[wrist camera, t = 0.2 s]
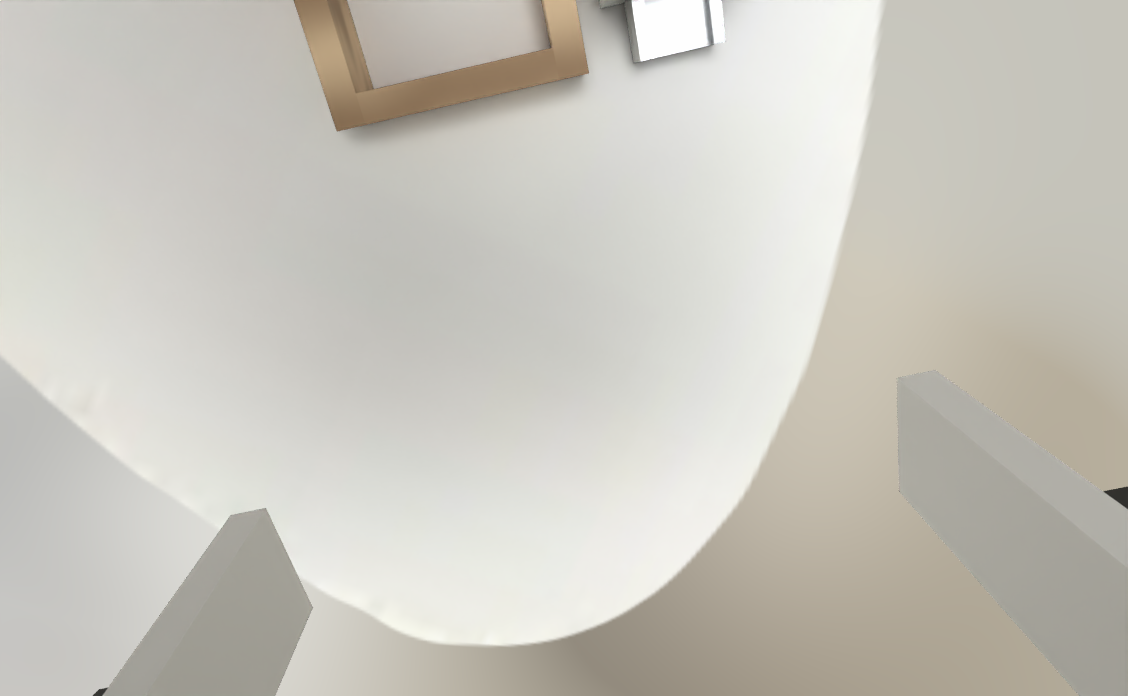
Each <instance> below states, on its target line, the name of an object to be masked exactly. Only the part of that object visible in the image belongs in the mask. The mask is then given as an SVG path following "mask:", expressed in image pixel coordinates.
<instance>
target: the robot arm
mask: <svg viewBox="0 0 1128 696" xmlns="http://www.w3.org/2000/svg"><path fill="white" fill-rule="evenodd" d="M897 411H898V412H897V413H898V463H899V492H900V493H901V494H902V495H903V496H904V498H905V499H906V500H907V501H908V502H909V503H910V504H911V505H912V507H913V508H914V509H915V510H916V511H917V512H918V514H919V515H920V516H921V517H922V518H923V519H924V520H925V522H926V523H927V524H928V525H929V526H930V527H931V528H932V529H933V531H934V532H935V533H936V534H937V535H938V536H939V537H940V539H941V540H942V541H943V542H944V543H945V544H946V545H947V546H948V548H949V549H950V550H951V551H952V552H953V553H954V554H955V556H956V557H957V558H958V559H959V560H960V561H961V562H962V564H963V565H964V566H965V567H966V568H967V569H968V570H969V571H970V573H972V575H973V576H974V577H975V578H976V579H977V581H978V582H979V583H980V584H981V585H982V586H983V587H984V588H985V590H986V591H987V592H988V593H989V594H990V595H991V596H992V597H993V598H994V600H995V601H996V602H997V603H998V604H999V605H1000V607H1001V608H1002V609H1003V610H1004V611H1005V612H1006V613H1007V615H1009V617H1010V618H1011V619H1012V620H1013V621H1014V623H1015V624H1016V625H1017V626H1018V627H1019V628H1020V629H1021V630H1022V631H1023V633H1024V634H1025V635H1026V636H1027V637H1028V638H1029V639H1030V640H1031V642H1032V643H1033V644H1034V645H1035V646H1036V647H1037V648H1038V650H1039V651H1040V652H1041V653H1042V654H1043V655H1044V656H1045V658H1046V659H1047V660H1048V661H1049V662H1050V663H1051V664H1052V666H1053V667H1054V668H1055V669H1056V670H1057V671H1058V672H1059V673H1060V675H1061V676H1062V677H1063V678H1064V679H1065V680H1066V681H1067V683H1068V684H1069V685H1070V686H1071V687H1072V688H1073V689H1074V691H1075V692H1076V693H1077V694H1078V695H1079V696H1128V487H1123V488H1118V489H1113V490H1108V491H1102V490H1100V489H1099V488H1098V487H1096V486H1095V485H1093V484H1092V483H1091V482H1089V481H1088V480H1087V479H1085V478H1084V477H1082V476H1081V475H1080V474H1078V473H1077V472H1076V471H1074V470H1073V469H1071V468H1070V467H1069V466H1067V465H1066V464H1065V463H1063V462H1062V461H1060V460H1059V459H1058V458H1056V457H1055V456H1053V455H1052V454H1051V453H1049V452H1048V451H1047V450H1045V449H1043V448H1042V447H1041V446H1040V445H1038V444H1037V443H1036V442H1034V441H1033V440H1031V439H1030V438H1028V437H1027V436H1026V435H1024V434H1023V433H1022V432H1020V431H1019V430H1018V429H1016V428H1015V427H1013V426H1012V425H1010V424H1009V423H1008V422H1006V421H1005V420H1004V419H1002V418H1001V417H1000V416H998V415H997V414H995V413H994V412H993V411H991V410H990V409H989V408H987V407H986V406H984V405H983V404H982V403H980V402H979V401H977V400H976V399H975V398H973V397H972V396H971V395H969V394H968V393H966V392H965V391H964V390H962V389H961V388H960V387H958V386H957V385H955V384H954V383H953V382H951V381H950V380H948V379H947V378H946V377H944V376H943V375H942V374H940V373H939V372H938V371H936V370H933V371H928V372H923V373H919V374H914V375H909V376H904V377H899V378H897ZM312 608H313V607H312V605H311V603H310V601H309V599H308V597H307V594H306V592H305V590H304V588H303V586H302V584H301V582H300V579H299V577H298V575H297V573H296V571H295V569H294V567H293V565H292V563H291V560H290V558H289V556H288V554H287V552H286V550H285V548H284V546H283V543H282V541H281V539H280V537H279V535H278V533H277V531H276V529H275V527H274V524H273V522H272V520H271V518H270V516H269V514H268V512H267V510H266V508H264V509H259V510H254V511H249V512H244V513H239V514H235V515H231V516H230V517H229V518H228V520H227V521H226V523H225V524H224V525H223V527H222V528H221V530H220V531H219V532H218V534H217V536H216V537H215V538H214V540H213V541H212V542H211V544H210V545H209V547H208V548H207V549H206V551H205V552H204V554H203V555H202V556H201V558H200V559H199V561H198V562H197V564H196V565H195V566H194V568H193V569H192V570H191V572H190V573H189V575H188V576H187V577H186V579H185V580H184V582H183V583H182V585H181V586H180V587H179V589H178V590H177V592H176V593H175V594H174V596H173V597H172V599H171V600H170V601H169V603H168V604H167V606H166V607H165V608H164V610H163V611H162V613H161V614H160V615H159V617H158V619H157V620H156V621H155V623H154V624H153V625H152V627H151V628H150V630H149V631H148V632H147V634H146V635H145V637H144V638H143V639H142V641H141V642H140V644H139V645H138V646H137V648H136V649H135V651H134V652H133V654H132V655H131V656H130V658H129V659H128V661H127V662H126V663H125V665H124V666H123V668H122V669H121V670H120V672H119V673H118V675H117V676H116V677H115V679H114V680H113V682H112V683H111V684H110V686H109V687H108V688H104V689H99V690H98V691H97V692H96V693H95V694H94V695H93V696H275V695H276V692H277V690H278V688H279V685H280V683H281V681H282V678H283V676H284V674H285V671H286V669H287V667H288V664H289V662H290V660H291V657H292V655H293V652H294V650H295V648H296V646H297V643H298V641H299V639H300V636H301V634H302V632H303V630H304V627H305V625H306V622H307V620H308V618H309V615H310V613H311V611H312Z"/></svg>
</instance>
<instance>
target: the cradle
mask: <svg viewBox="0 0 1128 696" xmlns="http://www.w3.org/2000/svg"><path fill="white" fill-rule="evenodd" d="M541 2H542V7H543V12H544V17H545V22H546V27H547V32H548V37H549V42H550V47H551V48H549V49H545V50H541V51H536V52H532V53H528V54H524V55H519V56H515V57H511V58H506V59H502V60H498V61H494V62H489V63H485V64H481V65H476V66H472V67H468V68H463V69H459V70H455V71H451V72H446V73H442V74H438V75H433V76H429V77H425V78H421V79H416V80H412V81H408V82H403V83H399V84H395V85H391V86H386V87H382V88H378V89H373V86H372V82H371V79H370V76H369V72H368V69H367V66H366V62H365V59H364V56H363V52H362V49H361V46H360V42H359V39H358V36H357V33H356V29H355V26H354V23H353V19H352V16H351V13H350V9H349V6H348V3H347V0H294V3H295V6H296V9H297V12H298V15H299V18H300V21H301V24H302V27H303V30H304V33H305V36H306V39H307V42H308V45H309V48H310V51H311V54H312V57H313V60H314V63H315V66H316V69H317V72H318V75H319V78H320V81H321V85H322V88H323V91H324V94H325V97H326V100H327V103H328V106H329V109H330V112H331V115H332V118H333V121H334V124H335V127H336V130H337V131H341V130H345V129H350V128H354V127H358V126H363V125H367V124H371V123H376V122H380V121H384V120H389V119H393V118H397V117H402V116H406V115H410V114H415V113H419V112H423V111H428V110H432V109H436V108H441V107H445V106H449V105H454V104H458V103H462V102H467V101H471V100H475V99H480V98H484V97H488V96H493V95H497V94H501V93H506V92H510V91H514V90H519V89H523V88H527V87H532V86H536V85H540V84H545V83H549V82H553V81H558V80H562V79H566V78H571V77H575V76H579V75H584V74H588V73H589V71H588V65H587V60H586V54H585V49H584V44H583V38H582V33H581V27H580V22H579V16H578V11H577V5H576V0H541Z"/></svg>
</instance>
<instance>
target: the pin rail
mask: <svg viewBox="0 0 1128 696" xmlns="http://www.w3.org/2000/svg"><path fill="white" fill-rule="evenodd" d="M623 2H624V6H625V12H626V19H627V25H628V31H629V38H630V44H631V50H632V56H633V63H636V62H640V61H644V60H649V59H653V58H657V57H662V56H666V55H670V54H675V53H679V52H683V51H688V50H692V49H696V48H701V47H705V46H709V45H714V44H718V43H722V42H726V37H725V27H724V18H723V9H722V0H599V5H600V9H601V8H605V7H609V6H614V5H618V4H622V3H623Z"/></svg>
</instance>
